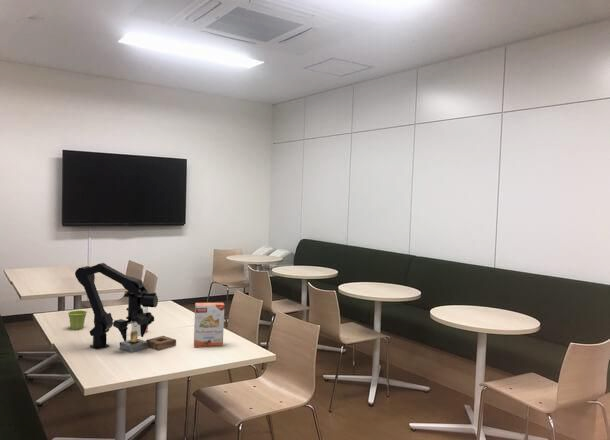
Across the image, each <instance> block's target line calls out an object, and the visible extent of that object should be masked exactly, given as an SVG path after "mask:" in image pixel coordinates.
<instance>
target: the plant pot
mask: <svg viewBox="0 0 610 440" xmlns="http://www.w3.org/2000/svg"><path fill="white" fill-rule="evenodd" d="M87 314H88V311H85V310H71V311H68V312H67V315H68V318H69V325H70V329H71V330H73V331H77V330H83V329H84V328H85V327H84V325H85V320H86V316H87Z"/></svg>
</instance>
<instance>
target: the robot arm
mask: <svg viewBox="0 0 610 440" xmlns="http://www.w3.org/2000/svg"><path fill="white" fill-rule="evenodd" d="M99 273H100V274H102V275H104V276H105V277H107V278H109V279H111V280H113V281H115V282H116V283H118V284H120V285H121V286H122V287H123V288H124V289H125V290H126V291H127V292H126V293H125V294H124V295H123V297H125V298H127V299H128V303H127V308H126V311H127V316H126V318H125V319H123V318H119V319H114V318H113V316H112V312H109V313H107V311H105V308H104V305H103V303H102V301H101V297H100V294H99V292H98V290H97V287H96V284H95V279H96V278H95V277H96V276H95V275H96V274H99ZM74 275H75V278H76V279H77V281H78V283H80V285H82V287H83V288H84V291H85V293H86V296H87V298H88V301H89V304H90V308H91V309H92V313H93V315H94V316H93V317H94V318H93V325H94V327H93V328H92V329H91V330H89V335H90V337H92V344H90V345H89V347H90V348H92V349H96V350H99V349H103V348H107V347H110V344H108V343H107V339H108V338H107V336H108V335H107V333H109V331H110V329H111V328H112V327H114V328H116V329H117V330H118V331H119V333H120V334H121V336H122V337H121V338H122V339H123V341H127V338H128V337H127V336H128V335H127V333H128V332H127V331H128V329H129V327H128V325H130V324H131V325H132V323H136V322H137V323H138V325H140V331H141V335H140V337H142V338H143V337H144V336H145V334H146V332H145V331H146V329H147V327H149V325H151V324H153V323H154V322H155V316H154V315H153V314H152V313H151V312H150V311H148V313H143V309H144V308H141V307H142V306H143V307H148V308H157V306H158V304H159V299H158V295H157V292H148V291H149V290H147V289H146V288H145V286H144V282H143V280H141V279H140V278H137V277H133V276H129V275H126V274H124V273H123V272H121V271H118V270H117V269H115V268H113V267H111V266H109V265H108V264H106V263H105V262H100V263H97V264H96V265H92V266H90V265H87V266H81V267H79V268H77V269H76V270H75V273H74Z"/></svg>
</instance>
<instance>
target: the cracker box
mask: <svg viewBox="0 0 610 440" xmlns="http://www.w3.org/2000/svg"><path fill="white" fill-rule="evenodd" d="M194 305H195V306H194V307H195V308H194V324H193V326H194V328H193V329H194V331H193V347H194V348H209V347H211V348H212V347H223V346H224V328H225V327H224V326H225V325H224V324H225V303H224V302H195V304H194Z"/></svg>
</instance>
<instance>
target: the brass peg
mask: <svg viewBox="0 0 610 440" xmlns="http://www.w3.org/2000/svg"><path fill="white" fill-rule="evenodd" d="M137 339H138V335H137V331H130V340H131V341H130V344H135V343H137Z"/></svg>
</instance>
